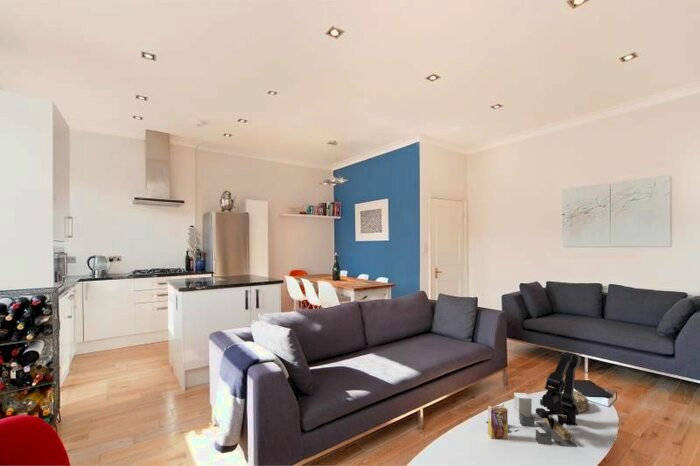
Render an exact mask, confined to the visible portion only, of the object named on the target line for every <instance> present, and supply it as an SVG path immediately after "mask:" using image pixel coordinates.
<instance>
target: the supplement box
mask: <svg viewBox="0 0 700 466" xmlns="http://www.w3.org/2000/svg"><path fill="white" fill-rule="evenodd" d="M532 400H533V399H532V398H531V397H530V396H529V394H528V393H526V392H513V414H514V415H515V416H516V418H517V419H518V420H520V414H522V415H523V416H525V417H530V414H532V412H533V411H532V410H533V409H532V407H533V406H532V402H533V401H532ZM532 415H533V414H532Z"/></svg>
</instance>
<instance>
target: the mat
mask: <svg viewBox="0 0 700 466" xmlns="http://www.w3.org/2000/svg"><path fill="white" fill-rule="evenodd" d="M535 423H536V424H537V426H539V428H541V429H542V430H543V431H544V433H547V430H549V431H550V432H551V433H552V441H554V442H555V443H556V444H557V445H558V446H559V447H567V448H568V447H571V448H572V447H575V448H577V447H578V445H577V444H576V443H575V442H573V440H572V439H571V440H563V439H562V438H561V437H560V436H559V435H558V434H557V433H556V432H555V431H554V430H552V429H551V427H550V426H549V425H548V424H546V423H545V422H544V421H535Z"/></svg>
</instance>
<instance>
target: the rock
mask: <svg viewBox="0 0 700 466" xmlns="http://www.w3.org/2000/svg"><path fill="white" fill-rule="evenodd" d="M563 393H564V392H562V394H563ZM573 396H574V398H575V400H576V405H577V407H578V409H579V412H578V414H581V413H584V412H586V410H589V409H591V408H590V407H591V405H590V404H589V399H588V398H587V397H586V396H585V395H584V394H583V393H582V392H581V391H577V390H574V391H573Z"/></svg>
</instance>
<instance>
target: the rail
mask: <svg viewBox="0 0 700 466" xmlns="http://www.w3.org/2000/svg"><path fill="white" fill-rule="evenodd" d="M552 418H553V419H554V426H553V430H554V431H555V432H556V433H557V434H558V435H559V436H560V437H561V438H562V439H563V440H571V441H572V434H571V432H570V431H569V430H568V429H567V428H565V426H564V425H563V426H562V425H561V424H560V423H559V422H558V420H556V419H555V418H554V417H553V416H552ZM541 420H542V422H545V423H546V424H548V425H549V422H548V419H547V418H541ZM549 426H550V425H549Z"/></svg>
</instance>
